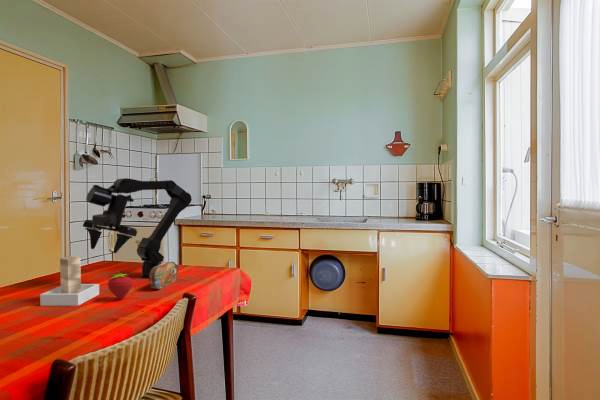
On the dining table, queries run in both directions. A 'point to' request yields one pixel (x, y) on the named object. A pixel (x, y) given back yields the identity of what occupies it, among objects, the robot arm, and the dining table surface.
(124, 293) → the strawberry
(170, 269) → the tin
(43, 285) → the dining table surface
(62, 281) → the birch block
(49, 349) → the dining table surface
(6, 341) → the dining table surface
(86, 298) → the box
